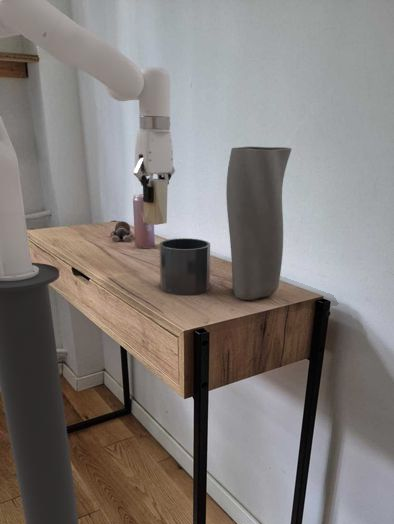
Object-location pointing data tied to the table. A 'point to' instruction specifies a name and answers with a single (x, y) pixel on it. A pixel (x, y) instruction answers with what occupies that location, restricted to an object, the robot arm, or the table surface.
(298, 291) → the table surface
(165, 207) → the box
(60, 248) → the table surface
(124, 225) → the figurine
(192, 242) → the cup
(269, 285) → the vase
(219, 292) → the table surface
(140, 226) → the beverage can
